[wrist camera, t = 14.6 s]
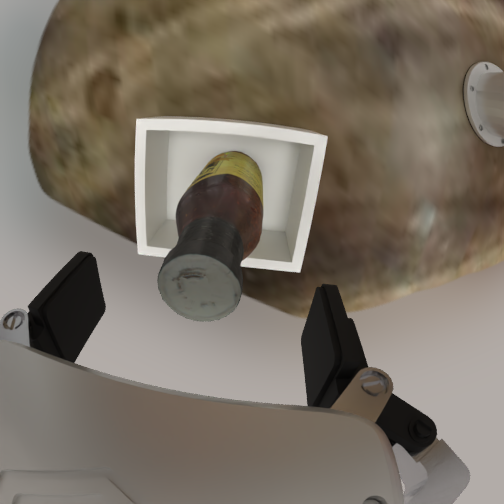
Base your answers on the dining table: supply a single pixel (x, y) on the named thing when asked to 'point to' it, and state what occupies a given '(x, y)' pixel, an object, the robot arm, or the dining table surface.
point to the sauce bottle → (214, 238)
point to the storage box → (196, 158)
